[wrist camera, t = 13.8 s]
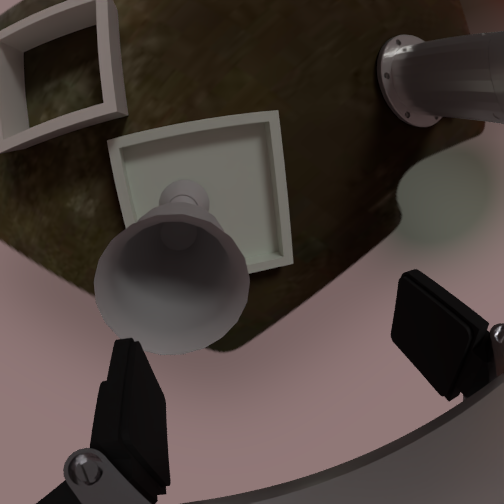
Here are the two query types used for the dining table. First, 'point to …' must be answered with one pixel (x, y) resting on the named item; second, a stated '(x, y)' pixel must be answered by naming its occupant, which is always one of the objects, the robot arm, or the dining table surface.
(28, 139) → the sleeve
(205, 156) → the tray
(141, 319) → the chalice
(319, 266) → the dining table surface
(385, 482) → the robot arm
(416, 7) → the dining table surface
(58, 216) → the dining table surface
